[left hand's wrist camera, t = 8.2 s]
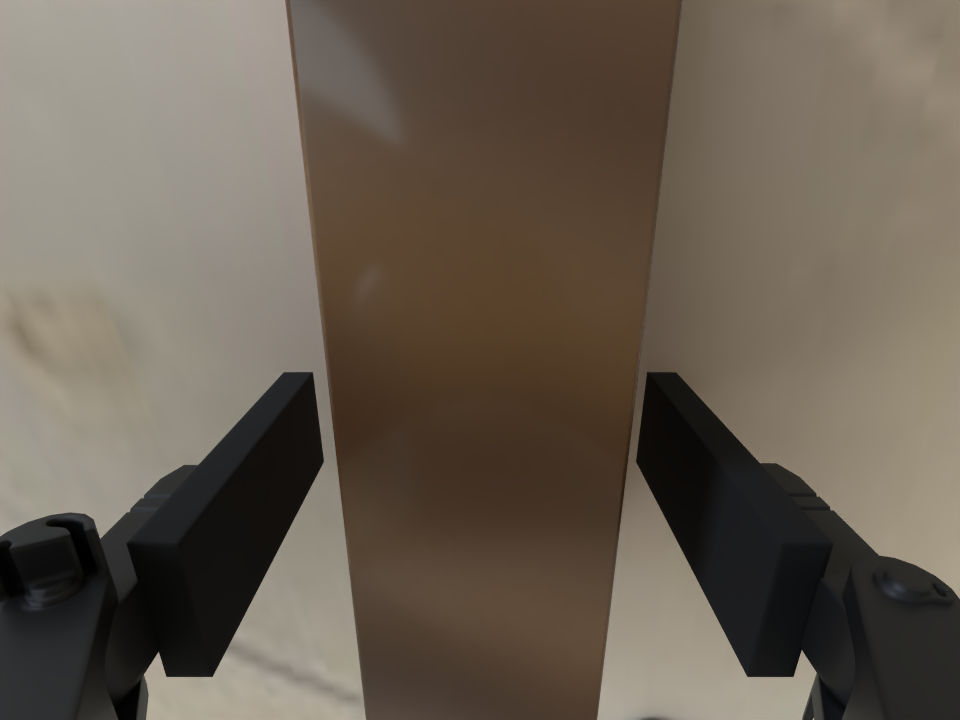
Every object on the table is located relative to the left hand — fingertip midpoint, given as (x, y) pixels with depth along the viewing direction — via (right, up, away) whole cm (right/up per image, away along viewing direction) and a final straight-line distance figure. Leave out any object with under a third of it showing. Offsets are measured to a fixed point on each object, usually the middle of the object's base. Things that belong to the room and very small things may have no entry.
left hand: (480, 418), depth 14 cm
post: (0, +31, -9) cm, 32 cm away
